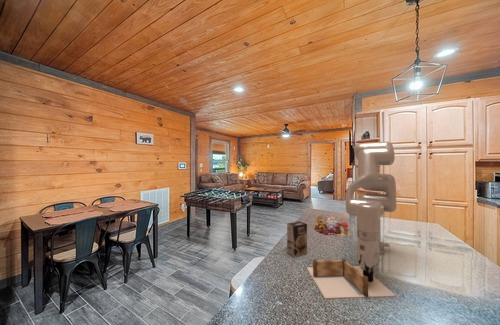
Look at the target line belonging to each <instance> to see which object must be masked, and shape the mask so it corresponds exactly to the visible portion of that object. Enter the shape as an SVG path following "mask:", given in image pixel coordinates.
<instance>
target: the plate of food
mask: <svg viewBox="0 0 500 325" xmlns="http://www.w3.org/2000/svg"><path fill="white" fill-rule="evenodd" d="M315 221H316V224H315V225H314V227H315V228H314V230H315V229H316V230H315V231H316V232H318V233H319V232H320V233H322V234H323V235H329V234H334V235H333V236H336V235H338V236H337V237H344V236H346V237H349V236H348V235H350V234H348V233H350V231H351V230H350V228H349V224H348V222H346V221H343V222H342V221H340V222H339V220H338V219H336V217H333V216H331V217H326V218H325V217H323V216H322V215H317V217H316V219H315ZM330 225H331V226H330ZM329 226H330V227H329ZM342 230H343V231H342ZM349 230H350V231H349ZM350 236H351V235H350Z"/></svg>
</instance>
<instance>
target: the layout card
mask: <svg viewBox="0 0 500 325" xmlns="http://www.w3.org/2000/svg"><path fill="white" fill-rule="evenodd" d="M352 266H353V267H354V268H355V269H357V270H358V271H359V272H360V273H362V274H363V269H361V268H360V266H361V265H352ZM306 270H307V272H308V273H309V275H310V277H311V278H312V280H313V282H314V283H315V286H316V287H317V288H318V290H319V292H320V293H321V295H322V296H323V299H324V300H333V299H334V300H335V299H337V300H338V299H340V300H341V299H365V298H367V299H368V298H370V299H371V298H394V297H397V296H396V294H395V293H394V292H392V291H391V290H390V289H389V288H388V287H386V286H385V285H384V284H383V283H382V282H381V281H379V280H378V278H376V277H375V276H374V275H373V280H374V281H373V282H372V283H371V282H369V281H368V297H365V296H364V294H363V293H362V292H361V291H360V290H359V289H358V288H356V287H355V286H354V285H353V284H352V283H351V282H350V281H349V280H348V279H347V278H346V277H345V276H343V275H342V276H317V277H314V276H313V266H312V267H310V266H308V267H306Z"/></svg>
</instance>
